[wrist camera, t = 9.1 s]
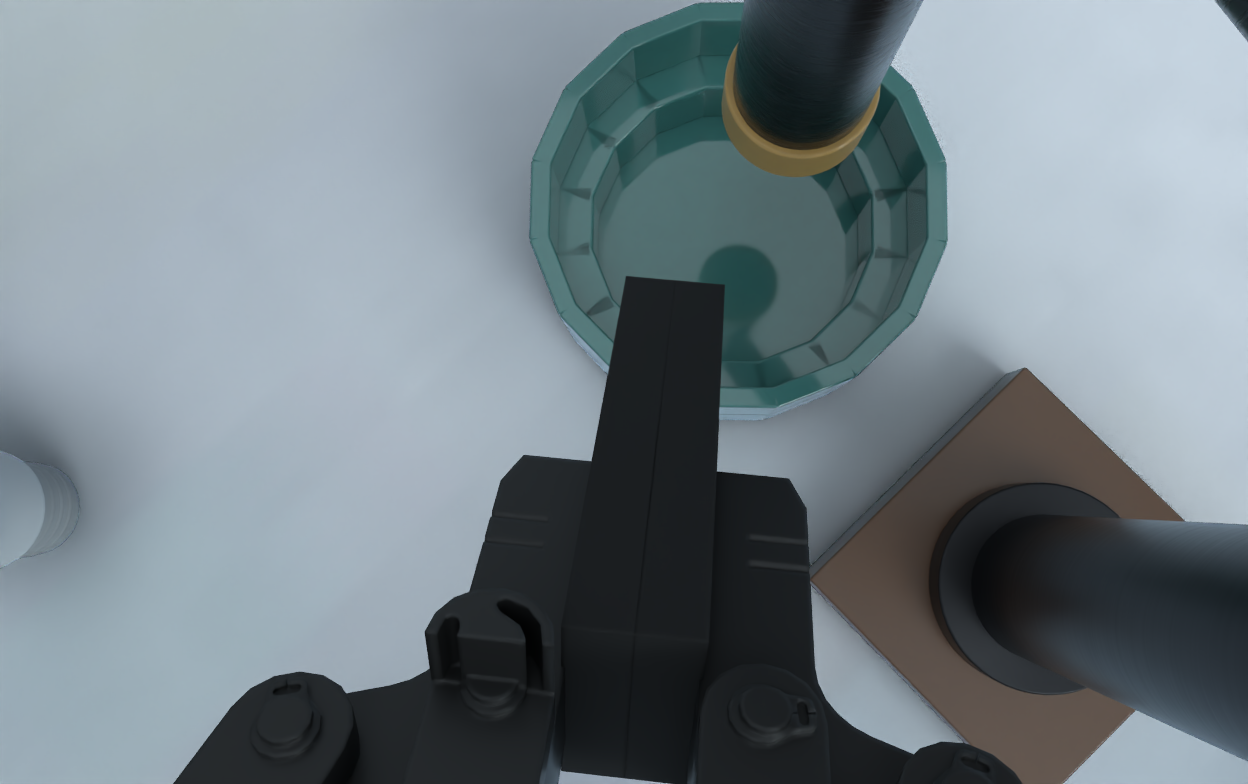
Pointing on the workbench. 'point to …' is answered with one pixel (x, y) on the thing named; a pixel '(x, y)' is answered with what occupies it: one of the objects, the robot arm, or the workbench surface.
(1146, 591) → the black post
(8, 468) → the lightbulb
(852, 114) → the spout
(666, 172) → the basin
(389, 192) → the workbench surface
